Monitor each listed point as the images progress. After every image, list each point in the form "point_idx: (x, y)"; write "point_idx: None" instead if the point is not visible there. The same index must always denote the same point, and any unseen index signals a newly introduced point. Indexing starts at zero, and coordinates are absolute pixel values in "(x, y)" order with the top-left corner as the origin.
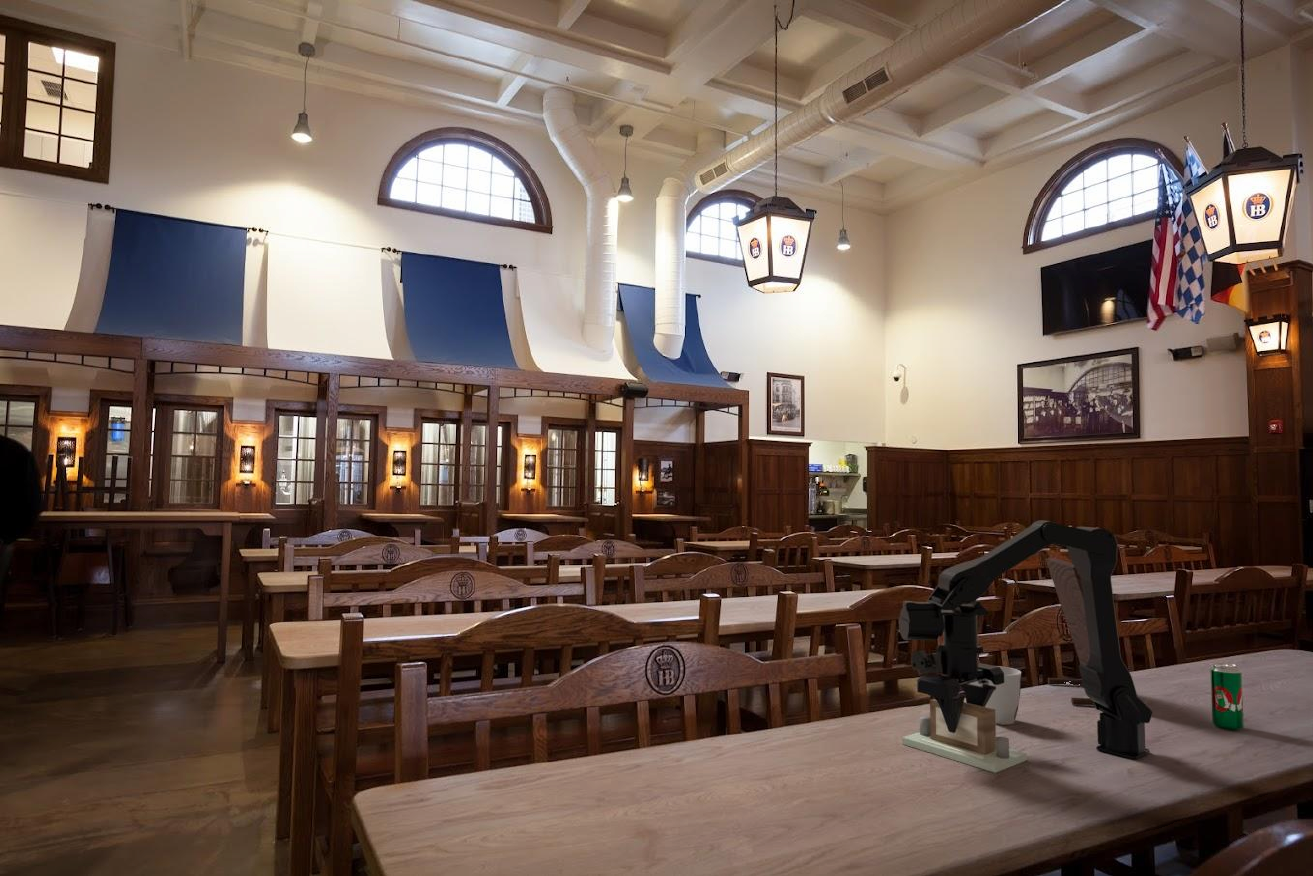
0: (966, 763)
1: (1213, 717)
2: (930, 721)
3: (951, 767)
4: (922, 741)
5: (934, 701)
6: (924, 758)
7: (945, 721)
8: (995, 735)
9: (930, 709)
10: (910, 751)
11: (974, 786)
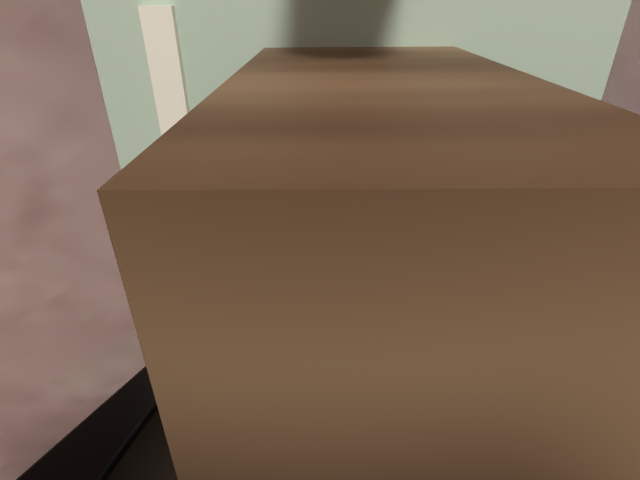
0: None
1: None
2: (235, 74)
3: (71, 338)
4: (140, 42)
5: (139, 327)
6: (19, 178)
7: (101, 408)
8: None
9: (190, 119)
10: (14, 16)
11: (3, 473)
